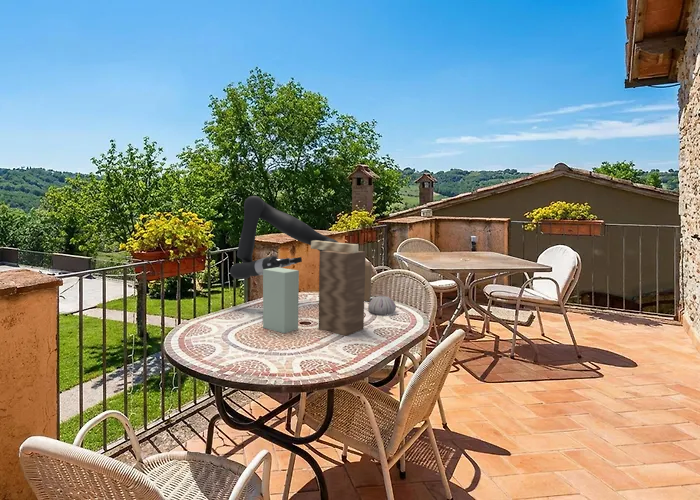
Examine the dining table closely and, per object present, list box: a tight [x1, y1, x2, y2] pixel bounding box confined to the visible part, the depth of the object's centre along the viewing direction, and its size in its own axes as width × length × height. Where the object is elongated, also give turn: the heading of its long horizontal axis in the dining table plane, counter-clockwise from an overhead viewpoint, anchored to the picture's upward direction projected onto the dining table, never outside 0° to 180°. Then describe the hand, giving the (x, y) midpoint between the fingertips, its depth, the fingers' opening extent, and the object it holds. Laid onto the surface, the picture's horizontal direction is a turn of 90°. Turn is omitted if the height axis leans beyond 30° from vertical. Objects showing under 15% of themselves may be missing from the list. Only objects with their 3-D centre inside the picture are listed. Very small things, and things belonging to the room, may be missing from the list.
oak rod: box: [310, 240, 359, 253], centre depth 180 cm, size 22×3×3 cm, turn 54°
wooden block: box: [364, 261, 373, 302], centre depth 235 cm, size 10×10×20 cm
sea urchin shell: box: [367, 295, 397, 316], centre depth 209 cm, size 13×14×8 cm
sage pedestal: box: [262, 267, 300, 334], centre depth 179 cm, size 12×8×24 cm, turn 54°
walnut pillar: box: [317, 250, 367, 337], centre depth 179 cm, size 14×12×32 cm
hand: (295, 260), depth 192 cm, fingers open, 8 cm apart
